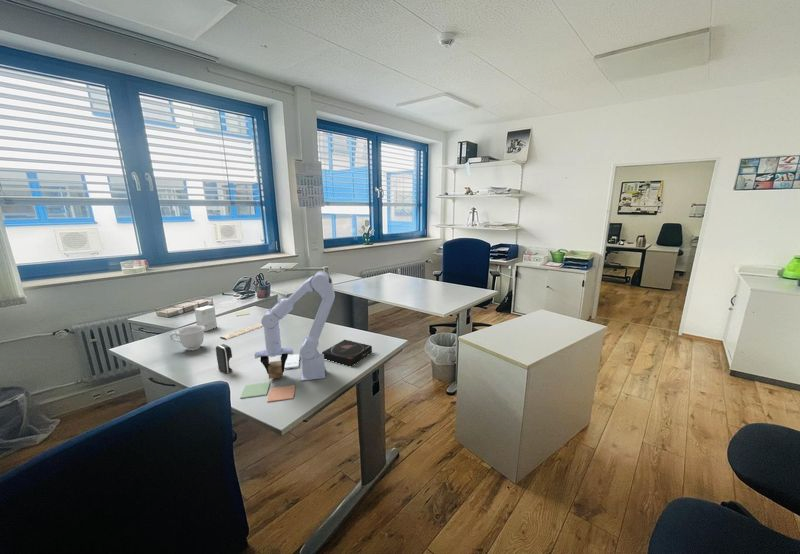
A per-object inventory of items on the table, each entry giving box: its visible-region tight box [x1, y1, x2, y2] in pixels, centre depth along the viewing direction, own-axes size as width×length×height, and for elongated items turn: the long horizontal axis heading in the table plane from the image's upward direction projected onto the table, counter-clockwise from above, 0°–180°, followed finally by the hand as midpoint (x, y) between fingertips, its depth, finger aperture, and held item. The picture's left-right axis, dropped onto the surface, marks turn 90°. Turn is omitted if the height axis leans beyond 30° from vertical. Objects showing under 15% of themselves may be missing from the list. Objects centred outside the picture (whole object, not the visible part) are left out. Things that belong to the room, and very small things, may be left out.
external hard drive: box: [284, 353, 301, 370], centre depth 145 cm, size 2×8×12 cm
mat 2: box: [266, 384, 296, 403], centre depth 121 cm, size 9×9×1 cm
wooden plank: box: [221, 323, 263, 340], centre depth 184 cm, size 24×7×2 cm, turn 150°
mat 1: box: [240, 381, 271, 399], centre depth 123 cm, size 9×9×1 cm
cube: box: [267, 360, 284, 380], centre depth 132 cm, size 5×5×5 cm
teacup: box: [169, 325, 205, 351], centre depth 160 cm, size 12×15×10 cm
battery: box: [215, 343, 233, 374], centre depth 138 cm, size 7×4×11 cm, turn 55°
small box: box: [194, 305, 218, 333], centre depth 187 cm, size 8×6×13 cm
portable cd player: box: [321, 339, 373, 368], centre depth 152 cm, size 16×17×4 cm
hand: (276, 371), depth 132 cm, fingers closed on cube, 5 cm apart
